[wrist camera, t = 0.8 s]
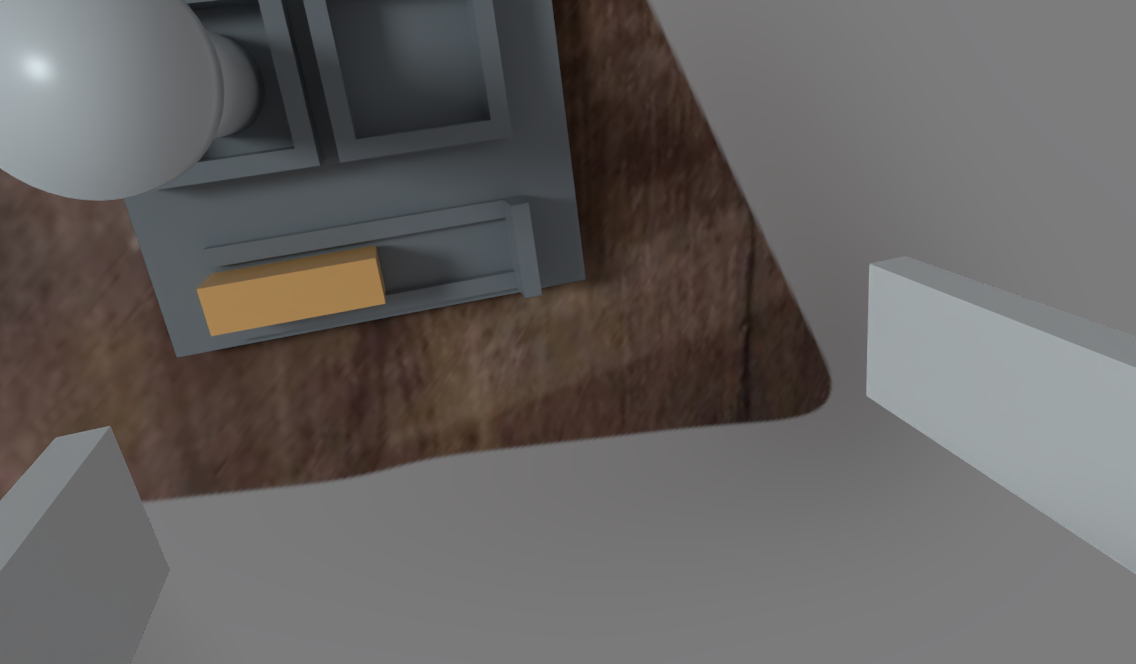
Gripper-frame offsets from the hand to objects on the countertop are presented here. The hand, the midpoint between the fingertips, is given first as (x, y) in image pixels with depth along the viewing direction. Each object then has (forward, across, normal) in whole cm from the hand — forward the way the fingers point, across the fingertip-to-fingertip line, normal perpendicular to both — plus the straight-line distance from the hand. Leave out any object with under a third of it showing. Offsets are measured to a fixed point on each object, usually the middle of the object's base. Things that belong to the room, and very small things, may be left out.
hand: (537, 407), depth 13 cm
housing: (+24, -3, +3) cm, 24 cm away
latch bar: (+22, -7, -2) cm, 23 cm away
